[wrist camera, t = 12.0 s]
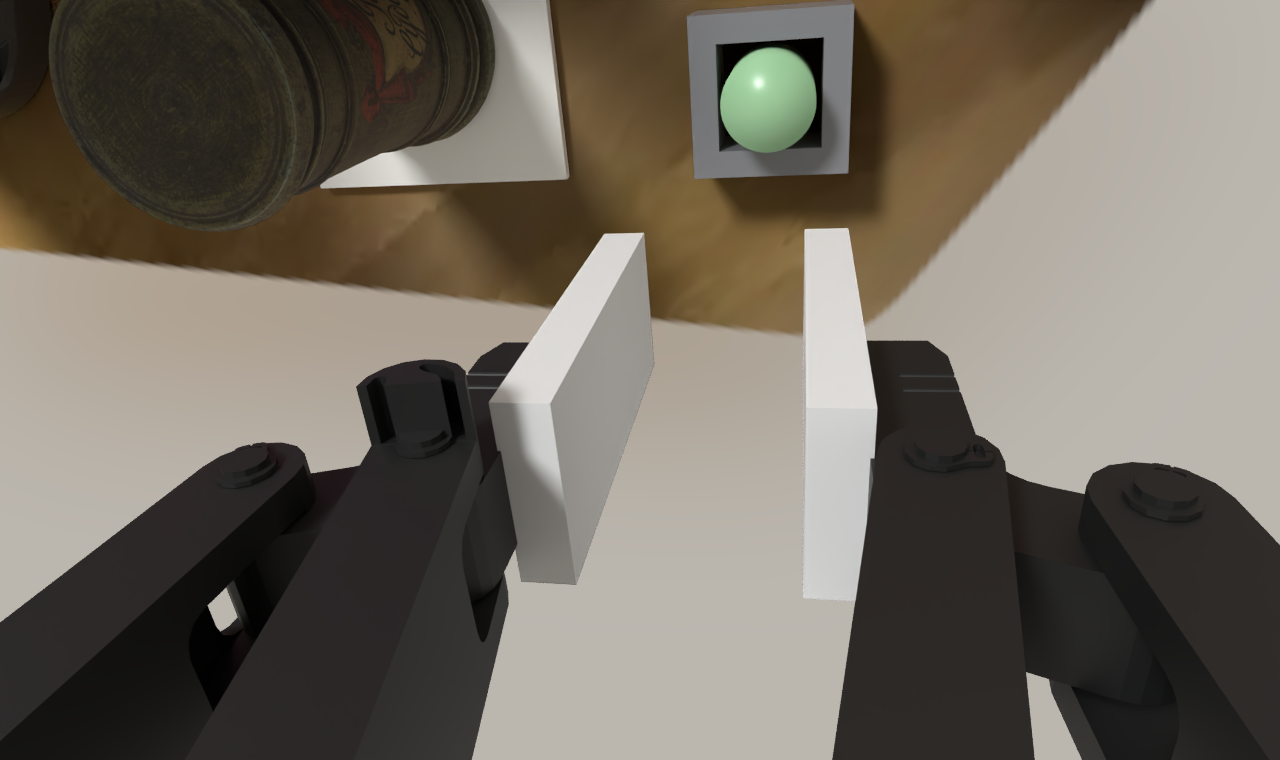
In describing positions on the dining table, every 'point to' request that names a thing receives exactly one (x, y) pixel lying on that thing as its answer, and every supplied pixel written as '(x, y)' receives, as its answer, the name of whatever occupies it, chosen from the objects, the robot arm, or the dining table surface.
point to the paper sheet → (492, 117)
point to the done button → (769, 98)
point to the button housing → (770, 24)
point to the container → (259, 94)
